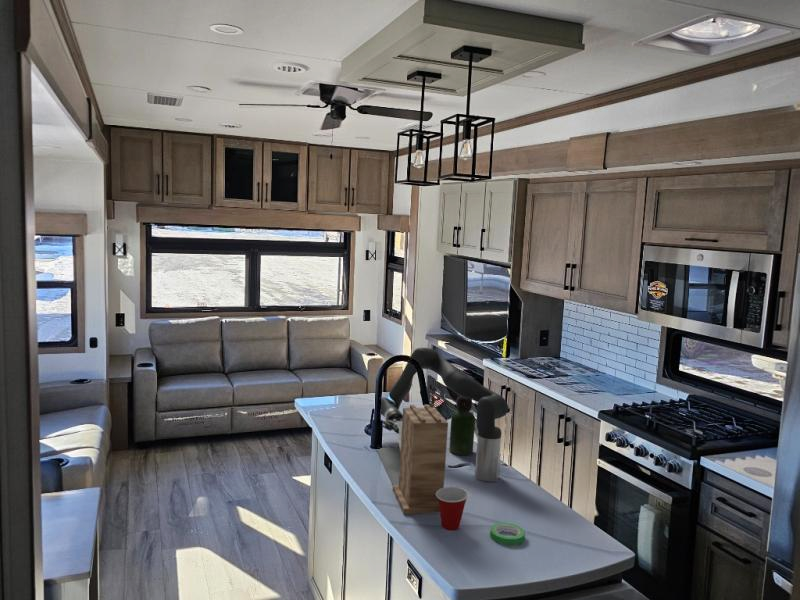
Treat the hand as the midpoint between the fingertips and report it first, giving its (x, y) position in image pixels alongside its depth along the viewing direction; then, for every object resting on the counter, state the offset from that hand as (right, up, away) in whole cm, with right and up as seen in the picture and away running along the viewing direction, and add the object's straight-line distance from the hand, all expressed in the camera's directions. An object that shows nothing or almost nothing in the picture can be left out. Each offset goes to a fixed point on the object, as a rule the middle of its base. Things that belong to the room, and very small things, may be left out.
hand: (402, 431), depth 270 cm
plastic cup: (+16, -22, -50) cm, 57 cm away
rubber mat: (0, -15, 0) cm, 15 cm away
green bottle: (+26, -14, +22) cm, 36 cm away
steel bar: (+1, -8, -5) cm, 9 cm away
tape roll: (+34, -24, -55) cm, 69 cm away
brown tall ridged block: (+6, -19, -31) cm, 37 cm away
